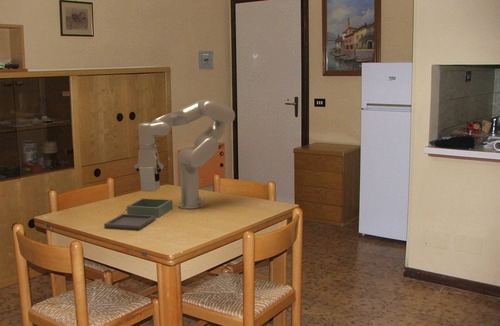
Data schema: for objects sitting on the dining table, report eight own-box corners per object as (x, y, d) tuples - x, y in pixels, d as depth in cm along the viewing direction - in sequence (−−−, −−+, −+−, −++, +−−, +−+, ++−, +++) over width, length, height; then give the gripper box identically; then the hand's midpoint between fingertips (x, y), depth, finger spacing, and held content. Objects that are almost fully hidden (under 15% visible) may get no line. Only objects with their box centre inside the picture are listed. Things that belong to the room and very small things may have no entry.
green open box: (172, 209, 304) (172, 199, 303) (158, 217, 287) (158, 208, 286) (142, 207, 308) (142, 198, 307) (127, 215, 292) (126, 206, 291)
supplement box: (160, 188, 298) (158, 164, 296) (153, 192, 291) (151, 167, 289) (147, 188, 301) (146, 164, 298) (140, 191, 294) (138, 167, 291)
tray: (155, 220, 283) (155, 215, 283) (139, 230, 266) (139, 226, 265) (122, 218, 288) (122, 213, 287) (104, 228, 271) (104, 223, 270)
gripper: (166, 145, 293) (168, 179, 296) (135, 145, 298) (137, 179, 301) (160, 148, 286) (162, 182, 289) (128, 148, 290) (131, 182, 294)
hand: (149, 180), depth 295 cm, fingers closed on supplement box, 7 cm apart
